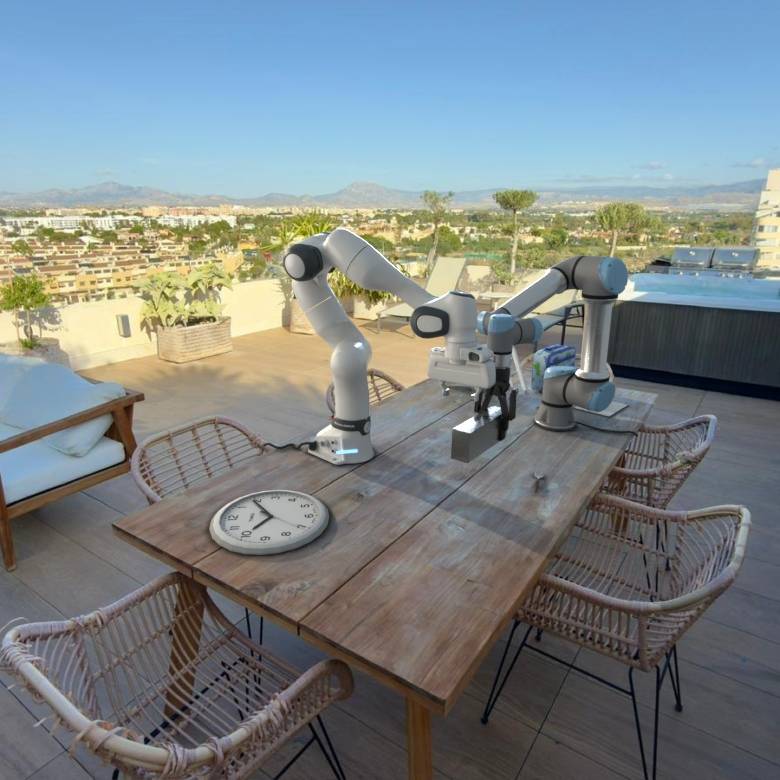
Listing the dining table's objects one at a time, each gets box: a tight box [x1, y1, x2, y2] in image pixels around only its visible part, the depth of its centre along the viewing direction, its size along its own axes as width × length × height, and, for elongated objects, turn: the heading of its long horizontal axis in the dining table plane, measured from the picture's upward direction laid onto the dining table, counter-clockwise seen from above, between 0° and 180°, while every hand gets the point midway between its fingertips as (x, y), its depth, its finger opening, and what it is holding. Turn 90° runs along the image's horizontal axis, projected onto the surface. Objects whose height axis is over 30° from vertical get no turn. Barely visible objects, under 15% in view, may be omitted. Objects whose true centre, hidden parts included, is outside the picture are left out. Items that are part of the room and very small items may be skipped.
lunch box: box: [530, 344, 577, 392], centre depth 247 cm, size 26×11×21 cm, turn 134°
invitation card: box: [573, 400, 629, 418], centre depth 226 cm, size 21×1×15 cm
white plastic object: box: [445, 343, 531, 399], centre depth 245 cm, size 37×45×31 cm
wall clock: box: [209, 489, 330, 556], centre depth 135 cm, size 30×2×30 cm
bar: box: [450, 405, 508, 464], centre depth 157 cm, size 25×6×9 cm, turn 143°
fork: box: [534, 465, 545, 494], centre depth 157 cm, size 3×16×2 cm, turn 160°
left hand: (460, 398), depth 148 cm, fingers open, 8 cm apart
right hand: (492, 436), depth 165 cm, fingers closed on bar, 6 cm apart
